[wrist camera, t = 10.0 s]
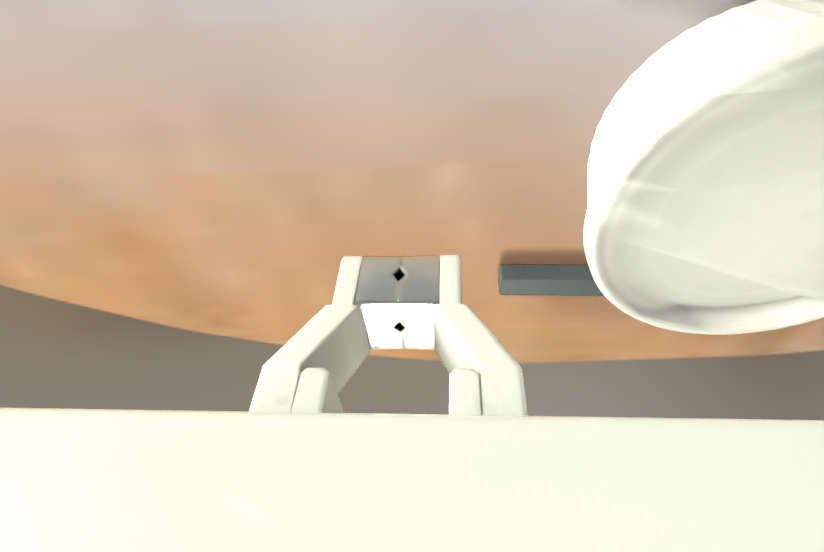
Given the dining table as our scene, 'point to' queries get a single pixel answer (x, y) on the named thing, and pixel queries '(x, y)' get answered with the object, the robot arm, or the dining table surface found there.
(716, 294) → the ramekin
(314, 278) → the dining table surface
